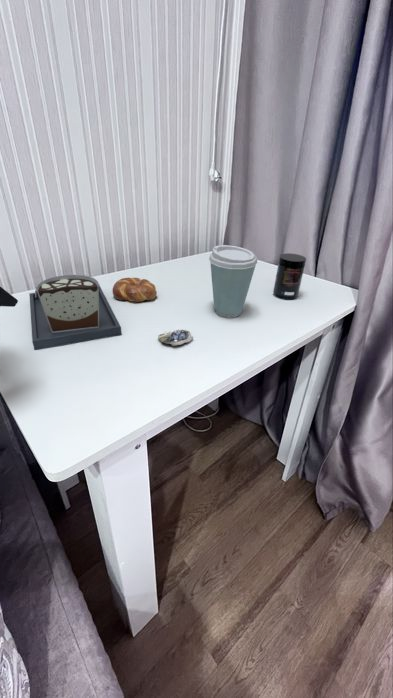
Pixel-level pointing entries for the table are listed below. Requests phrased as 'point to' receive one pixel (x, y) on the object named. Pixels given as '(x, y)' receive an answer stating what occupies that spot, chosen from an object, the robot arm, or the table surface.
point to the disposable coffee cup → (231, 278)
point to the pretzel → (134, 289)
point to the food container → (70, 302)
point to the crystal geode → (176, 337)
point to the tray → (47, 339)
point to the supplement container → (289, 275)
